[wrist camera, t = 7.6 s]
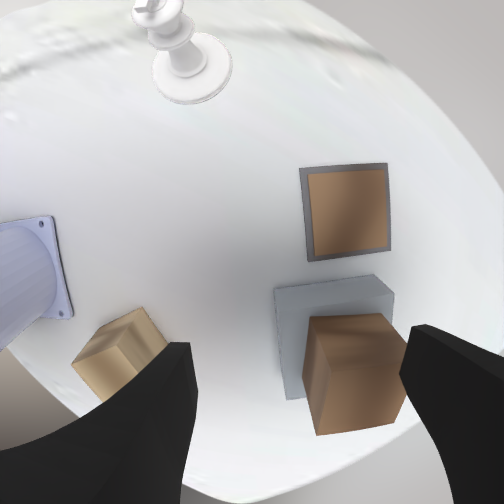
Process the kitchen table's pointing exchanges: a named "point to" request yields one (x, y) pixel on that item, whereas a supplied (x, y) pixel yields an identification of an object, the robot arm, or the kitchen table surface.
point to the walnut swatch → (346, 210)
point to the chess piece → (182, 53)
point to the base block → (321, 304)
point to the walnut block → (353, 372)
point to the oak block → (118, 353)
